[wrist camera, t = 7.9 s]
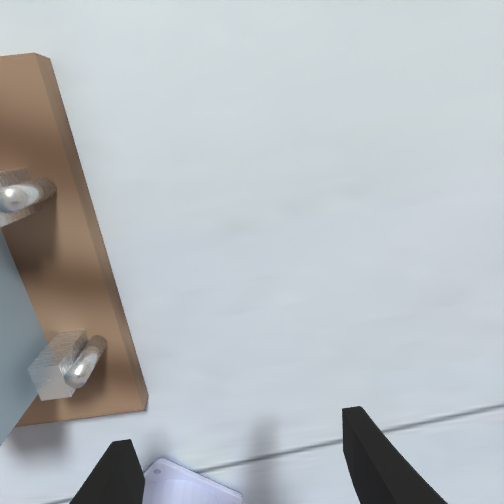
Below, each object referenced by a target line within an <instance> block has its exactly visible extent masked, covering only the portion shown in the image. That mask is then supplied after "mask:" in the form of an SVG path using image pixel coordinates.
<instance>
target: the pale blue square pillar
mask: <svg viewBox="0 0 504 504" xmlns="http://www.w3.org/2000/svg"><path fill="white" fill-rule="evenodd" d="M47 345H48V343H47V340H46V338H45V335H44V333H43V331H42V328H41V326H40V323H39V321H38V318H37V316H36V314H35V311H34V309H33V306H32V304H31V301H30V299H29V296H28V294H27V292H26V289H25V287H24V284H23V282H22V279H21V277H20V275H19V272H18V270H17V267H16V265H15V262H14V260H13V258H12V255H11V253H10V250H9V248H8V245H7V243H6V240H5V238H4V236H3V233H2V231H1V228H0V446H1V445H2V443H3V442H4V441H5V439H6V438H7V436H8V435H9V434H10V432H11V431H12V429H13V428H14V427H15V425H16V424H17V423H18V421H19V420H20V418H21V417H22V416H23V414H24V413H25V412H26V410H27V409H28V407H29V406H30V405H31V403H32V402H33V401H34V399H35V398H36V396H37V395H38V392H37V390H36V388H35V386H34V383H33V381H32V379H31V377H30V375H29V372H28V370H27V369H28V368H29V366H30V365H31V364H32V363H33V362H34V361H35V359H36V358H37V357H38V356H39V355H40V353H41V352H42V351H43V350H44V349H45V348H46V346H47Z"/></svg>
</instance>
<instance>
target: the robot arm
mask: <svg viewBox="0 0 504 504" xmlns="http://www.w3.org/2000/svg"><path fill="white" fill-rule="evenodd" d="M342 420H343V452H344V455H345V459H346V462H347V466H348V469H349V472H350V476H351V479H352V482H353V486H354V488H355V491H356V493H357V496H358V498H359V501H360V504H448V503H447V502H446V501H445V500H444V499H443V498H441V497H440V495H439V494H438V493H437V492H436V491H435V490H434V489H433V488H432V487H431V486H430V485H429V484H428V483H427V482H426V481H425V480H424V479H423V478H422V477H421V476H420V475H419V474H418V473H417V472H416V471H415V470H414V468H413V467H412V466H411V465H410V464H409V463H408V462H407V461H406V460H405V459H404V457H403V456H402V455H401V454H400V453H399V452H398V451H397V450H396V448H395V447H394V446H393V445H392V444H391V443H390V441H389V440H388V439H387V438H386V437H385V435H384V434H383V433H382V432H381V431H380V429H379V428H378V427H377V426H376V424H375V423H374V422H373V421H372V419H371V418H370V417H369V415H368V414H367V413H366V412H365V410H364V409H363V408H362V407H361V406H357V407H350V408H343V409H342ZM242 502H243V496H242V495H241V494H240V493H238V492H236V491H234V490H231V489H229V488H227V487H225V486H223V485H221V484H219V483H216V482H214V481H212V480H210V479H208V478H206V477H203V476H201V475H199V474H197V473H195V472H193V471H190V470H188V469H186V468H184V467H182V466H180V465H177V464H175V463H173V462H171V461H169V460H167V459H164V458H160V459H158V460H156V461H155V462H154V463H153V464H152V465H151V466H150V468H149V469H148V470H147V471H146V472H145V473H144V474H143V472H142V469H141V466H140V463H139V460H138V458H137V455H136V452H135V449H134V447H133V444H132V441H131V439H128V440H121V441H114V442H112V443H111V444H110V446H109V447H108V449H107V450H106V452H105V453H104V455H103V456H102V458H101V459H100V460H99V462H98V463H97V465H96V466H95V468H94V469H93V471H92V472H91V474H90V475H89V477H88V478H87V479H86V481H85V482H84V484H83V485H82V487H81V488H80V490H79V491H78V492H77V494H76V495H75V497H74V498H73V499H72V501H71V502H70V504H241V503H242Z"/></svg>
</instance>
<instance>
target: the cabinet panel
mask: <svg viewBox="0 0 504 504" xmlns="http://www.w3.org/2000/svg"><path fill="white" fill-rule="evenodd" d="M22 168H28V170H29V173H30V176H31V178H32V180H34V179H37V178H42V177H45V178H49V179H51V180H52V181H53V182H54V183H55V185H56V188H57V192H56V195H55V196H54V197H52V198H49V199H47V200H44V201H42V202H40V204H41V207H42V210H40V211H38V212H35V213H33V214H31V215H28V216H26V217H24V218H21V219H19V220H17V221H14V222H12V223H10V224H7V225H5V226H3V227H0V228H1V231H2V233H3V236H4V238H5V240H6V243H7V245H8V248H9V250H10V253H11V255H12V258H13V260H14V262H15V265H16V267H17V270H18V272H19V275H20V277H21V279H22V282H23V284H24V287H25V289H26V292H27V294H28V296H29V299H30V301H31V304H32V306H33V309H34V311H35V314H36V316H37V318H38V321H39V323H40V326H41V328H42V331H43V333H44V335H45V338H46V340H47V343H48V344H49V343H50V342H51V340H52V339H53V338H54V337H55V336H56V335H57V333H58V332H66V331H74V330H82V329H85V331H86V334H87V337H88V340H90V338H91V337H92V336H95V335H100V336H103V337H104V338H105V339H106V340H107V346H106V348H105V350H104V351H103V353H102V355H101V357H100V358H99V360H98V362H97V364H96V365H95V367H94V369H93V371H92V372H91V374H90V376H89V378H88V379H87V381H86V383H85V385H84V386H82V387H80V388H76V390H75V391H74V393H73V395H72V396H71V397H67V398H59V399H51V400H44V401H41V399H40V397H39V394H38V395H37V396H36V398H35V399H34V401H33V402H32V403H31V405H30V406H29V407H28V409H27V410H26V412H25V413H24V414H23V416H22V417H21V418H20V420H19V421H18V423H17V424H16V425H15V427H19V426H27V425H34V424H42V423H49V422H57V421H64V420H72V419H80V418H87V417H95V416H102V415H110V414H117V413H125V412H133V411H140V410H144V409H145V405H146V402H147V399H148V392H147V389H146V385H145V382H144V378H143V375H142V372H141V368H140V365H139V361H138V358H137V355H136V351H135V348H134V344H133V341H132V337H131V334H130V331H129V327H128V324H127V320H126V317H125V314H124V310H123V307H122V303H121V300H120V297H119V293H118V290H117V286H116V283H115V279H114V276H113V273H112V269H111V266H110V262H109V259H108V256H107V252H106V249H105V245H104V242H103V238H102V235H101V232H100V228H99V225H98V221H97V218H96V215H95V211H94V208H93V204H92V201H91V198H90V194H89V191H88V187H87V184H86V180H85V177H84V174H83V170H82V167H81V163H80V160H79V157H78V153H77V150H76V146H75V143H74V139H73V136H72V133H71V129H70V126H69V122H68V119H67V116H66V112H65V109H64V105H63V102H62V99H61V95H60V92H59V88H58V85H57V81H56V78H55V75H54V71H53V68H52V64H51V61H50V58H47V57H45V56H42V55H39V54H37V53H27V54H18V55H9V56H0V171H5V170H14V169H22Z"/></svg>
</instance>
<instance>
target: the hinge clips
mask: <svg viewBox="0 0 504 504" xmlns="http://www.w3.org/2000/svg"><path fill="white" fill-rule="evenodd" d="M56 192H57V188H56V185H55V183H54V182H53V181H52V180H51V179H49V178H45V177H42V178H37V179H34V180H32V178H31V176H30V173H29V170H28V168H22V169H14V170H5V171H0V227H3V226H5V225H7V224H10V223H12V222H14V221H17V220H19V219H21V218H24V217H26V216H28V215H31V214H33V213H35V212H38V211H40V210H42V207H41V204H40V202H42V201H44V200H47V199H49V198H52V197H54V196H55V195H56ZM106 346H107V340H106V339H105V338H104V337H103V336H100V335H95V336H92V337H91V338H90V340H88V337H87V334H86V331H85V329H82V330H74V331H66V332H58V333H57V335H56V336H55V337H54V338H53V339H52V340H51V342H50V343H49V344H48V345H47V346H46V348H45V349H44V350H43V351H42V352H41V353H40V355H39V356H38V357H37V358H36V359H35V361H34V362H33V363H32V364H31V365H30V366H29V368H28V369H27V370H28V372H29V375H30V377H31V379H32V381H33V383H34V386H35V388H36V390H37V392H38V394H39V397H40V399H41V401H44V400H51V399H59V398H67V397H71V396H72V395H73V393H74V391H75V390H76V388H80V387H82V386H84V385H85V383H86V381H87V379H88V378H89V376H90V374H91V372H92V371H93V369H94V367H95V365H96V364H97V362H98V360H99V358H100V357H101V355H102V353H103V351H104V350H105V348H106Z"/></svg>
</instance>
